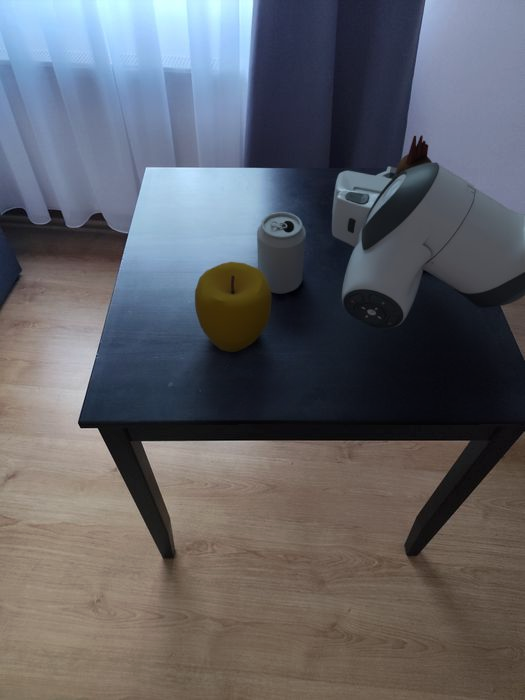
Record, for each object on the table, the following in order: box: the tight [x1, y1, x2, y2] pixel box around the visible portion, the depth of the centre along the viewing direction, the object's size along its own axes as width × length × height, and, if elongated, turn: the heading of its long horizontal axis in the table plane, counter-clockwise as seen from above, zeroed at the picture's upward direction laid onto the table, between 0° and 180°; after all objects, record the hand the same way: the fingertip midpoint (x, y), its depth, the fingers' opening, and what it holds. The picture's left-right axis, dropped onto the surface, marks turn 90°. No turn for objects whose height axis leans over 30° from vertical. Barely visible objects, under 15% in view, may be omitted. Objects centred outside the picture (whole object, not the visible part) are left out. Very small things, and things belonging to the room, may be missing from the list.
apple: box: [194, 261, 272, 353], centre depth 68 cm, size 11×11×13 cm
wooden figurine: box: [396, 135, 433, 175], centre depth 71 cm, size 7×6×15 cm
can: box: [256, 211, 307, 295], centre depth 76 cm, size 8×8×12 cm
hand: (413, 175), depth 71 cm, fingers closed on wooden figurine, 5 cm apart
